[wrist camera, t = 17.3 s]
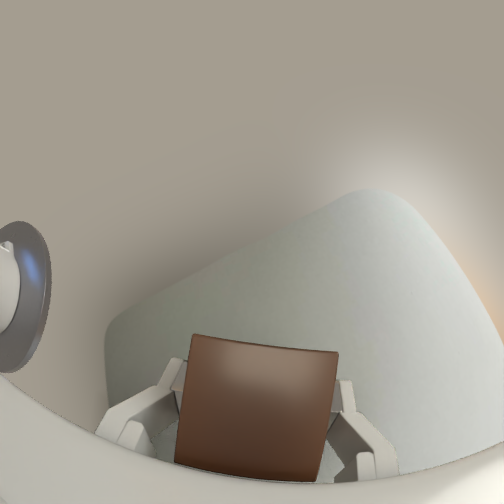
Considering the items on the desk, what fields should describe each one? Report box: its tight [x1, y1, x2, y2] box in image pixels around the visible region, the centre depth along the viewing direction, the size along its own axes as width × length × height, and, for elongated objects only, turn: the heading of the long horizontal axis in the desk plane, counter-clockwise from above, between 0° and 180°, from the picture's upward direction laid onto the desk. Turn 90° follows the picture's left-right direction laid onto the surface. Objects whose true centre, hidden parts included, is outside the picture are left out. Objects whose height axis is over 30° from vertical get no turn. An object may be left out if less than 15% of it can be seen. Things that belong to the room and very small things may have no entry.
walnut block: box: [174, 334, 339, 482], centre depth 10 cm, size 4×4×8 cm
